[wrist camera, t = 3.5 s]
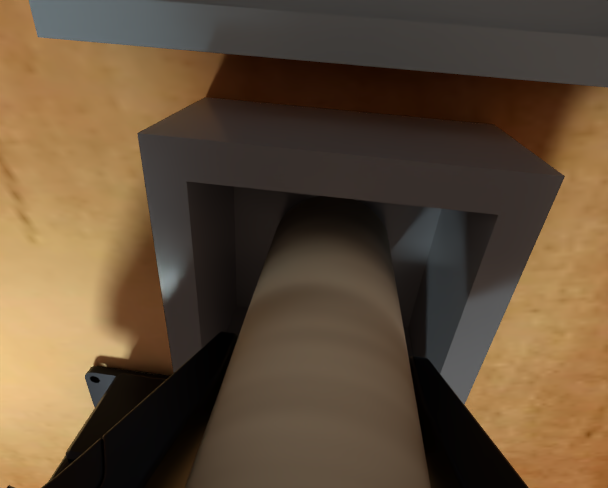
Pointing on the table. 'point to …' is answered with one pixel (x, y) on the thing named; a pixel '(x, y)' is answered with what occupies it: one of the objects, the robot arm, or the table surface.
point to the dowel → (318, 366)
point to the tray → (359, 32)
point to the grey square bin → (351, 185)
